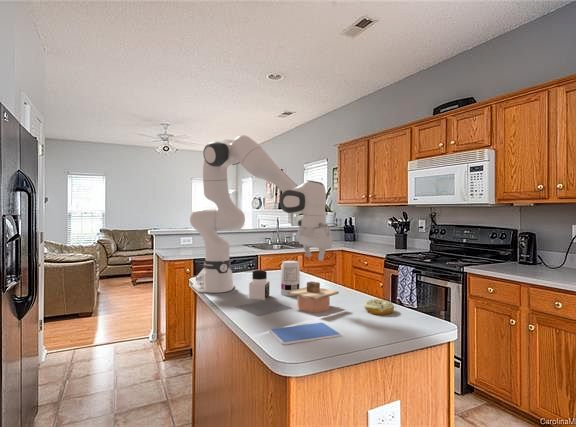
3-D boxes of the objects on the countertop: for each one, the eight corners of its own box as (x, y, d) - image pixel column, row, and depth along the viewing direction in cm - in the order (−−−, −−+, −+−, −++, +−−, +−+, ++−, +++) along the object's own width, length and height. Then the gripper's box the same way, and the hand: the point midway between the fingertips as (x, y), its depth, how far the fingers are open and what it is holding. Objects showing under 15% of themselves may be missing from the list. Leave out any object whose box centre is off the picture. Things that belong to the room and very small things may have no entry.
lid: (287, 293, 135) (287, 282, 135) (310, 288, 145) (310, 277, 145) (316, 300, 125) (316, 288, 125) (338, 293, 136) (338, 282, 136)
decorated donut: (359, 312, 132) (359, 301, 132) (373, 306, 140) (373, 296, 140) (384, 317, 125) (384, 307, 125) (398, 311, 133) (398, 301, 133)
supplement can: (277, 295, 156) (277, 261, 156) (289, 292, 162) (290, 259, 162) (290, 298, 151) (290, 263, 151) (303, 295, 157) (303, 261, 157)
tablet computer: (322, 325, 117) (323, 321, 117) (342, 338, 106) (342, 333, 106) (268, 332, 110) (268, 328, 110) (283, 347, 98) (283, 342, 98)
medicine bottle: (265, 301, 146) (265, 272, 146) (248, 300, 148) (249, 271, 148) (269, 296, 153) (269, 269, 153) (253, 296, 155) (254, 268, 155)
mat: (234, 307, 136) (234, 306, 136) (267, 301, 146) (267, 299, 146) (258, 317, 124) (258, 316, 124) (292, 309, 134) (292, 308, 134)
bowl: (291, 308, 136) (291, 293, 136) (313, 302, 144) (313, 288, 144) (312, 315, 127) (313, 299, 127) (335, 309, 134) (335, 294, 134)
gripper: (336, 223, 127) (336, 261, 128) (308, 221, 146) (308, 254, 146) (321, 224, 125) (321, 262, 125) (295, 221, 143) (295, 255, 143)
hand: (314, 258), depth 136 cm, fingers open, 8 cm apart
